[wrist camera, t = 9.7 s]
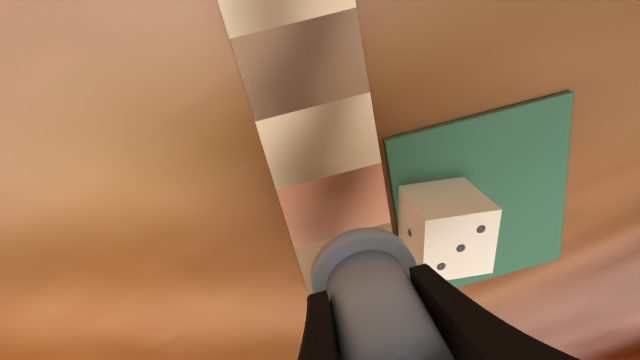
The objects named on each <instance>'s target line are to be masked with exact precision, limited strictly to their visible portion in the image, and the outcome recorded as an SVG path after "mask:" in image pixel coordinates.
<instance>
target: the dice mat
mask: <svg viewBox="0 0 640 360" xmlns="http://www.w3.org/2000/svg"><path fill="white" fill-rule="evenodd" d="M573 94H574V92H571V91H565V92H562V93H558V94H554V95H550V96H546V97H543V98H539V99H535V100H531V101H527V102H523V103H520V104H516V105H512V106H508V107H504V108H500V109H497V110H493V111H489V112H485V113H481V114H477V115H474V116H470V117H466V118H462V119H458V120H454V121H451V122H447V123H443V124H439V125H435V126H432V127H428V128H424V129H420V130H416V131H412V132H409V133H405V134H401V135H397V136H393V137H389V138H386V139H383V140H384V147H385V153H386V160H387V166H388V173H389V180H390V186H391V193H392V199H393V206H394V212H395V219H396V225H397V232H398V192H399V186H400V185H408V184H415V183H422V182H429V181H437V180H444V179H451V178H458V177H464V178H466V179H467V180H468V181H469V182H470V183H471V184H473V185H474V186H475V187H476V188H477V189H478V190H480V191H481V192H482V193H483V194H484V195H486V196H487V197H488V198H489V199H490V200H491V201H493V202H494V203H495V204H496V205H497V206H499V207H500V208H501V209H502V213H501V220H500V227H499V234H498V240H497V247H496V254H495V261H494V267H493V273H489V274H483V275H477V276H470V277H464V278H458V279H452V280H447V281H448V282H449V283H450V284H452V285H453V286H454V287H456V288H457V287H461V286H464V285H468V284H471V283H475V282H479V281H482V280H486V279H490V278H493V277H497V276H500V275H504V274H508V273H511V272H515V271H518V270H522V269H526V268H529V267H533V266H536V265H540V264H544V263H547V262H551V261H555V260H558V259H560V251H561V239H562V227H563V215H564V203H565V191H566V179H567V167H568V155H569V142H570V130H571V118H572V106H573Z"/></svg>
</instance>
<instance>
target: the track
mask: <svg viewBox="0 0 640 360" xmlns="http://www.w3.org/2000/svg"><path fill="white" fill-rule="evenodd" d="M218 4H219V7H220V10H221V13H222V17H223V20H224V23H225V26H226V30H227V33H228V36H229V39H230V43H231V46H232V49H233V52H234V55H235V59H236V62H237V65H238V68H239V72H240V75H241V78H242V81H243V85H244V88H245V91H246V94H247V98H248V101H249V104H250V107H251V111H252V114H253V117H254V120H255V123H256V127H257V130H258V133H259V136H260V140H261V143H262V146H263V149H264V153H265V156H266V159H267V162H268V166H269V169H270V172H271V175H272V178H273V182H274V185H275V188H276V191H277V195H278V198H279V201H280V204H281V208H282V211H283V214H284V217H285V221H286V224H287V227H288V230H289V234H290V237H291V240H292V243H293V246H294V250H295V253H296V256H297V259H298V263H299V266H300V269H301V272H302V276H303V279H304V282H305V285H306V289H307V292H308V295H310V294H313V290H312V285H311V276H310V274H311V268H312V264H313V262H314V259H315V257H316V256H317V254H318V252H319V251H320V250H321V249H322V247H323V246H324V245H326V244H327V243H328V242H329V241H330V240H332V239H333V238H334V237H336V236H338V235H340V234H342V233H344V232H346V231H349V230H352V229H357V228H365V227H373V228H380V229H384V230H387V231H389V232H392V226H391V219H390V213H389V207H388V201H387V194H386V188H385V182H384V176H383V170H382V163H381V157H380V151H379V145H378V138H377V132H376V126H375V120H374V113H373V107H372V101H371V95H370V88H369V82H368V76H367V70H366V64H365V57H364V51H363V45H362V39H361V32H360V26H359V20H358V14H357V7H356V1H355V0H218ZM392 233H393V232H392Z"/></svg>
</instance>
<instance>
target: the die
mask: <svg viewBox="0 0 640 360" xmlns="http://www.w3.org/2000/svg"><path fill="white" fill-rule="evenodd" d="M501 213H502V209H501V208H500V207H499V206H497V205H496V204H495V203H494V202H493V201H491V200H490V199H489V198H488V197H487V196H486V195H484V194H483V193H482V192H481V191H480V190H478V189H477V188H476V187H475V186H474V185H473V184H471V183H470V182H469V181H468V180H467V179H466V178H464V177H458V178H451V179H444V180H437V181H429V182H422V183H415V184H408V185H400V186H399V192H398V237H399V238H400V239H402V241H403V242H404V243H405V244H406V246H407V247H408V249H409V251H410V252H411V254H412V256H413V257H414V259H415V261H416V264H417V265H421V264H425V263H426V264H427V265H429V266H430V267H431V268H432V269H434V270H435V271H436V272H437V273H438V274H439V275H441V276H442V277H443V278H444V279H446V280H452V279H458V278H464V277H470V276H477V275H483V274H489V273H493V267H494V261H495V254H496V247H497V240H498V234H499V227H500V220H501Z"/></svg>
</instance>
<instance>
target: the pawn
mask: <svg viewBox="0 0 640 360" xmlns="http://www.w3.org/2000/svg"><path fill="white" fill-rule="evenodd" d="M414 266H417V264H416V261H415V259H414V257H413V256H412V254H411V252H410V251H409V249H408V247H407V246H406V244H405V243H404V242H403V241H402V239H400V238H399V237H398V236H397V235H395V234H393V233H392V232H389V231H387V230H384V229H380V228H373V227H365V228H357V229H352V230H349V231H346V232H344V233H342V234H340V235H338V236H336V237H334V238H333V239H332V240H330V241H329V242H328V243H327V244H326V245H324V246H323V247H322V249H321V250H320V251H319V252H318V254H317V256H316V257H315V259H314V262H313V264H312V268H311V274H310V276H311V285H312V290H313V293H317V292H320V291H324V290H327V294H328V298H329V302H330V306H331V310H332V314H333V319H334V323H335V329H336V334H337V339H338V344H339V348H340V352H341V357H342V360H454V358H453V355H452V354H451V352H450V350H449V348H448V346H447V345H446V343H445V341H444V339H443V337H442V336H441V334H440V332H439V330H438V328H437V327H436V325H435V323H434V321H433V319H432V318H431V316H430V314H429V312H428V310H427V309H426V307H425V305H424V303H423V301H422V300H421V298H420V296H419V294H418V292H417V291H416V289H415V287H414V285H413V283H412V282H411V280H410V272H409V268H410V267H414Z"/></svg>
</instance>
